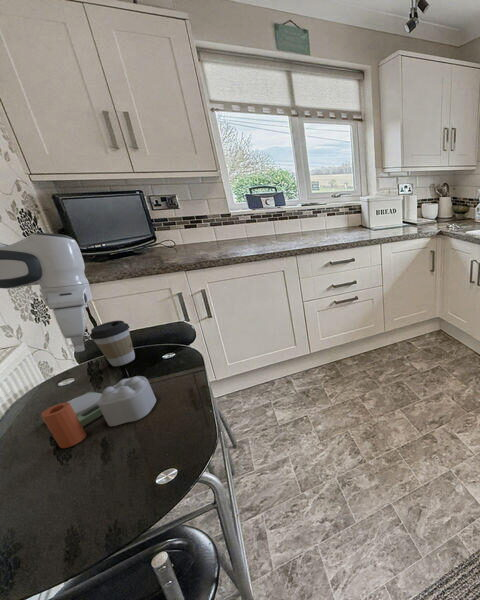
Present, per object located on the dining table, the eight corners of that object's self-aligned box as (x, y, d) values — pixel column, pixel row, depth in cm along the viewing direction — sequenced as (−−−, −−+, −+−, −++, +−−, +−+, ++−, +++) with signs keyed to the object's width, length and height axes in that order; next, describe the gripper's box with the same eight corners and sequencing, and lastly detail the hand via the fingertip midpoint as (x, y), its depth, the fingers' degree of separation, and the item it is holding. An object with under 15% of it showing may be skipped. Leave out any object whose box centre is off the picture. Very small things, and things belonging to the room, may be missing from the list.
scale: (44, 423, 92) (40, 415, 91) (92, 396, 103) (88, 389, 102) (77, 430, 88) (73, 422, 87) (123, 401, 99) (119, 394, 98)
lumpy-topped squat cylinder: (102, 429, 88) (88, 402, 85) (123, 400, 100) (112, 376, 96) (146, 417, 91) (135, 392, 88) (162, 391, 102) (152, 367, 99)
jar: (54, 446, 83) (35, 415, 80) (78, 431, 88) (61, 401, 84) (68, 449, 82) (49, 417, 78) (91, 434, 86) (74, 403, 83)
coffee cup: (145, 358, 124) (130, 323, 119) (107, 373, 116) (89, 335, 111) (138, 350, 131) (123, 316, 126) (102, 363, 124) (85, 328, 118)
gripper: (54, 293, 90) (67, 341, 93) (46, 303, 75) (61, 359, 78) (86, 290, 94) (97, 336, 97) (83, 298, 79) (96, 352, 82)
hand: (81, 346), depth 87 cm, fingers open, 8 cm apart
